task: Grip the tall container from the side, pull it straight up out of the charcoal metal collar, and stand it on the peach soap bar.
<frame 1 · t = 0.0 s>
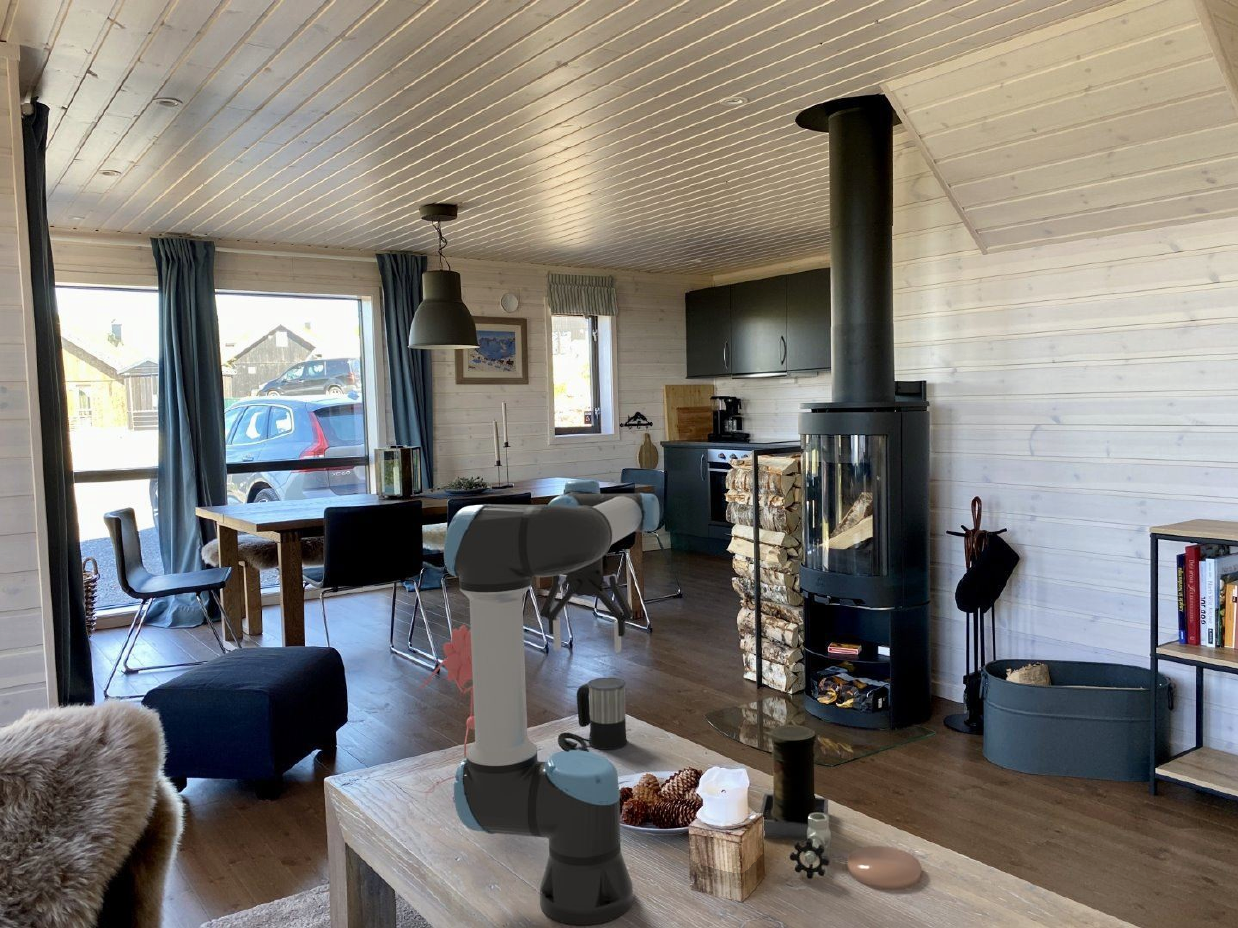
hand: (587, 650, 202), 28 cm above the table, tool pointing down, fingers open, 13 cm apart
collar: (794, 824, 177), on the table
milk frother: (593, 747, 222), on the table
valve: (815, 864, 163), on the table
peach soap bar: (883, 871, 159), on the table
container: (794, 825, 177), resting in collar
figurine: (467, 788, 200), on the table
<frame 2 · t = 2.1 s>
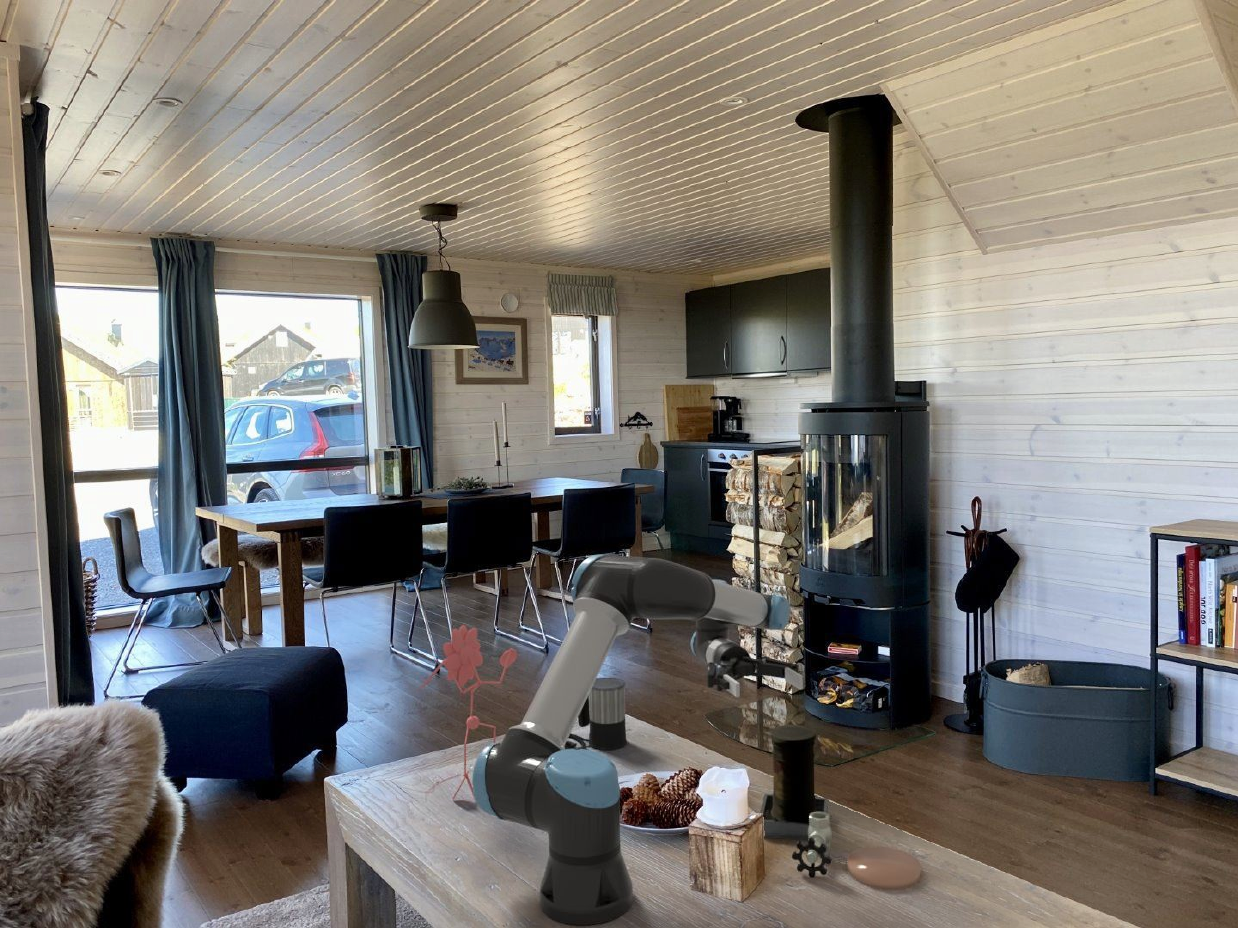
hand: (769, 686, 185), 24 cm above the table, tool horizontal, fingers open, 13 cm apart
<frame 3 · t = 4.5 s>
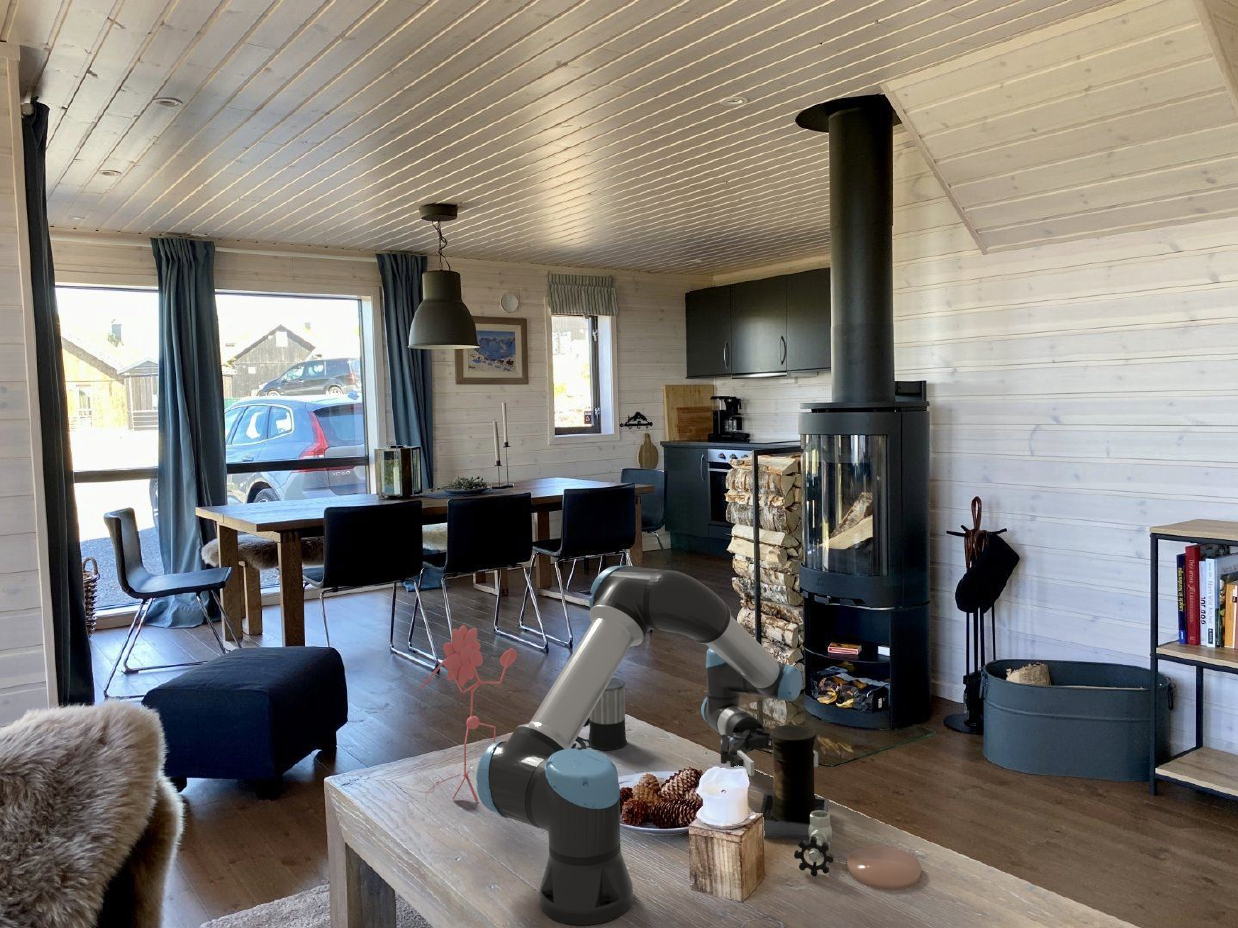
hand: (784, 764, 182), 10 cm above the table, tool horizontal, fingers open, 13 cm apart
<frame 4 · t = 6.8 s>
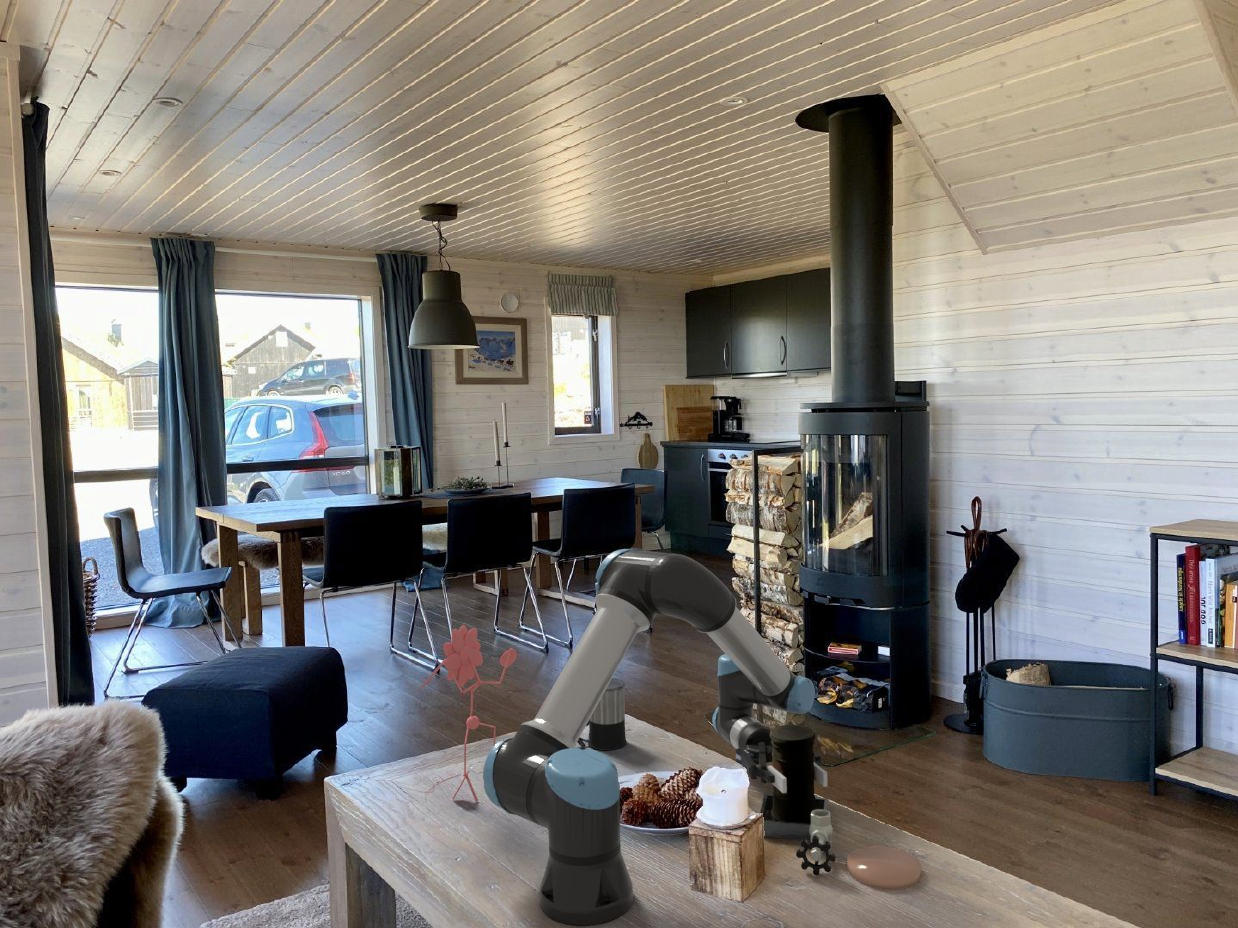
hand: (805, 782, 172), 10 cm above the table, tool horizontal, fingers closed on container, 8 cm apart
container: (794, 825, 177), resting in collar, touching gripper
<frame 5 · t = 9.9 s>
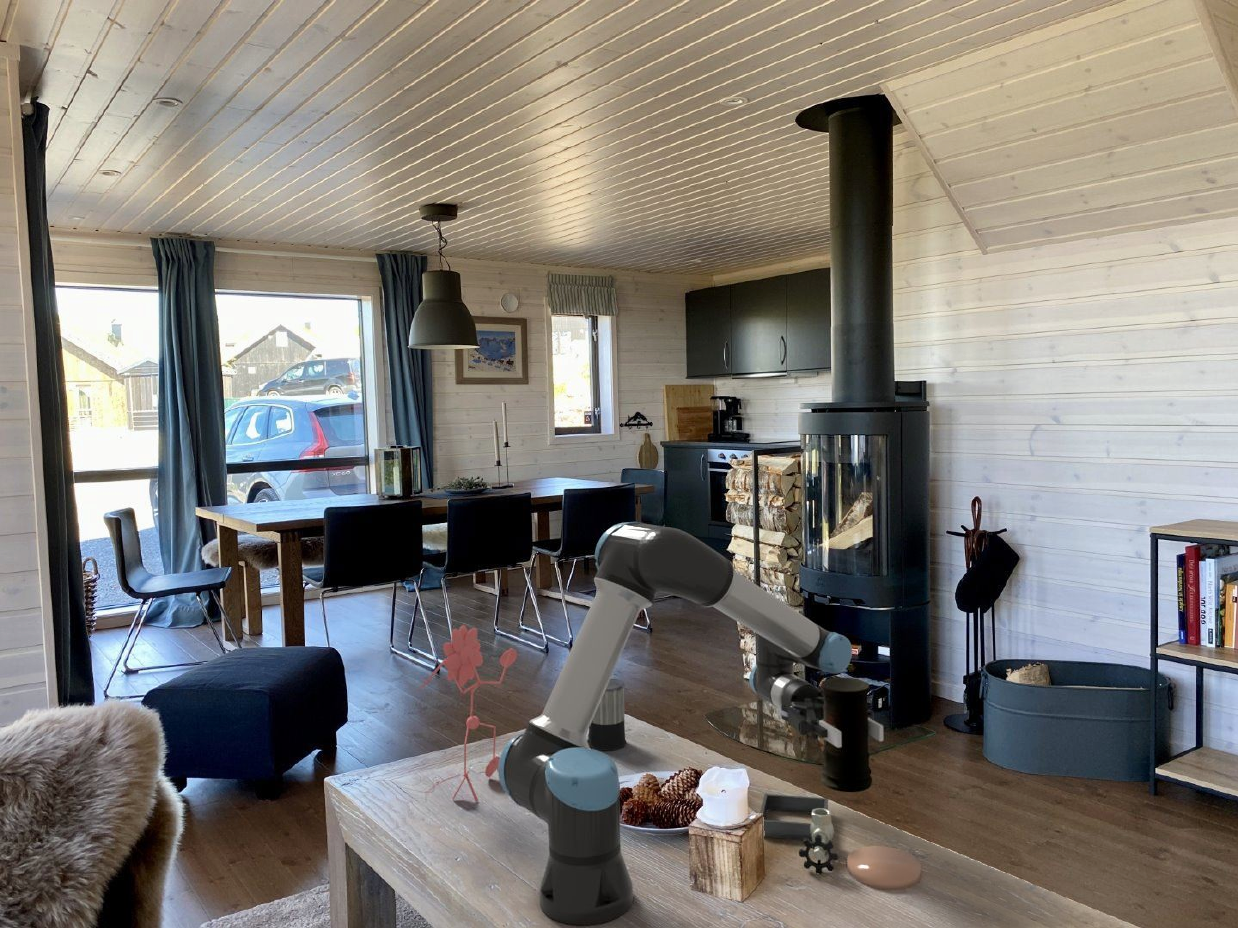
hand: (860, 736, 162), 22 cm above the table, tool horizontal, fingers closed on container, 8 cm apart
valve: (820, 859, 165), on the table, touching collar
container: (846, 783, 168), point 12 cm above the table, touching gripper
everything else where it was.
when the fingers open (13 cm above the table, at t = 13.0 s): container drops 1 cm, resting on peach soap bar.
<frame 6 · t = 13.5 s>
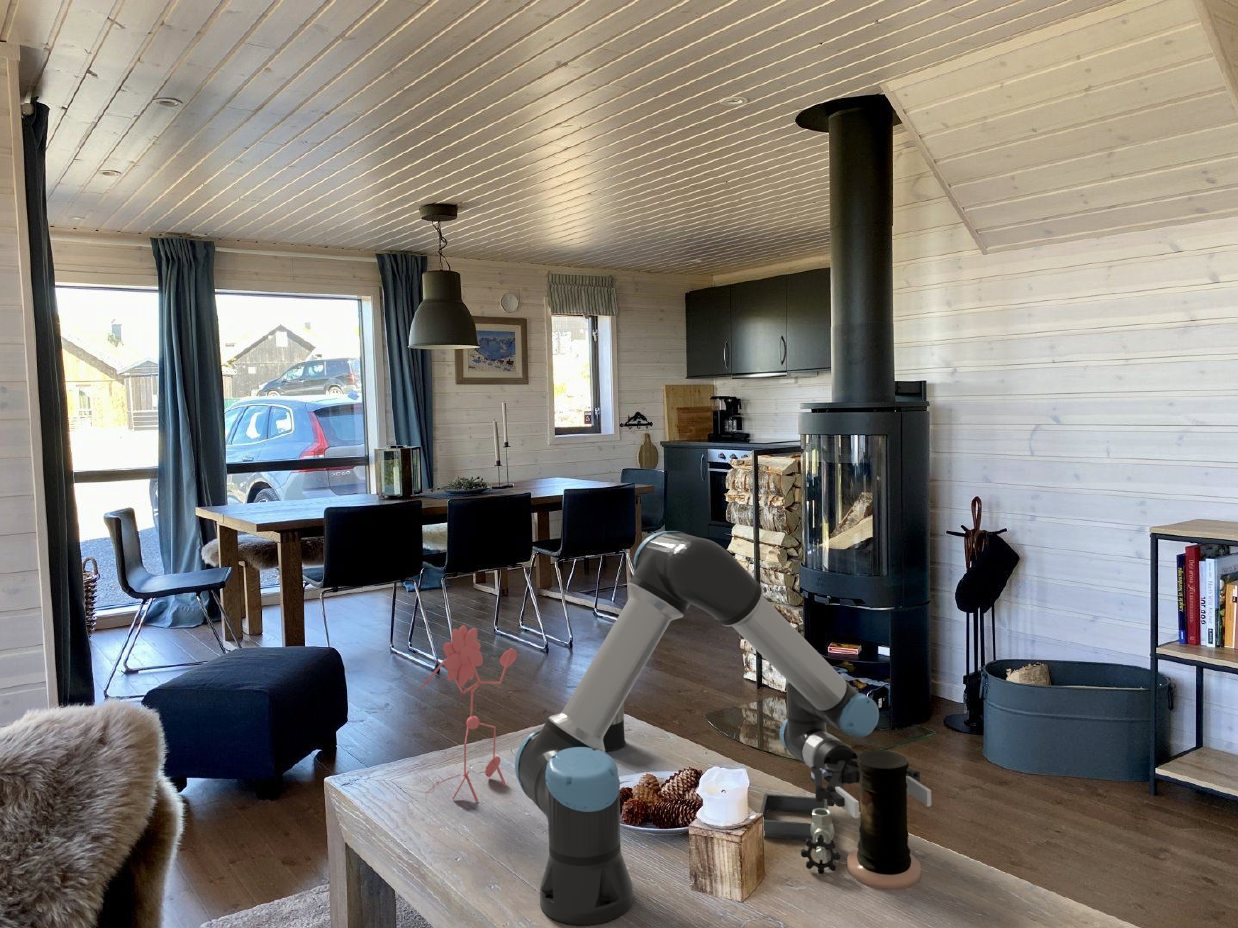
hand: (893, 804, 155), 13 cm above the table, tool horizontal, fingers open, 13 cm apart
valve: (821, 859, 165), on the table
container: (883, 863, 159), point 1 cm above the table, touching peach soap bar
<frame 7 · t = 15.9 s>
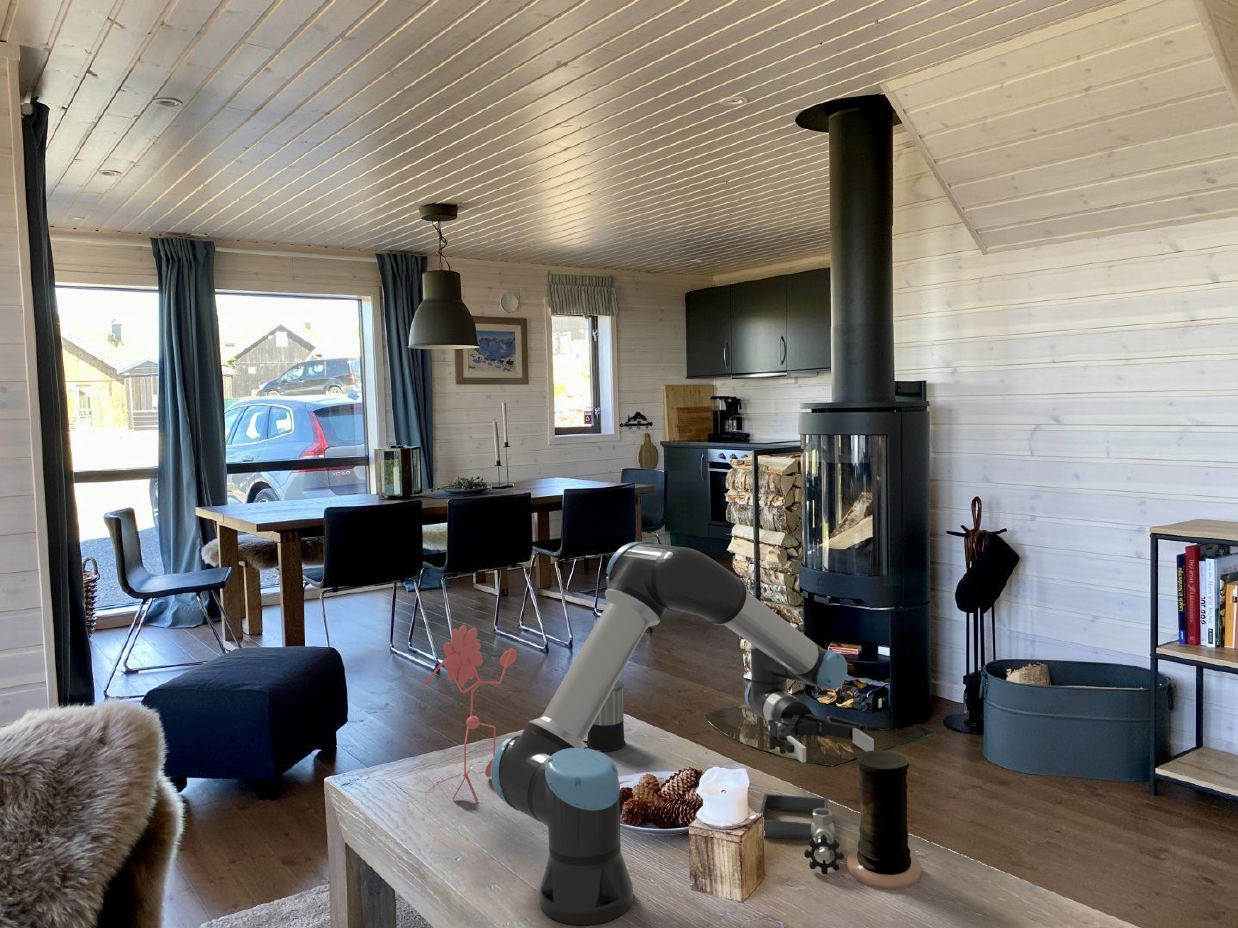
hand: (838, 751, 170), 16 cm above the table, tool horizontal, fingers open, 13 cm apart
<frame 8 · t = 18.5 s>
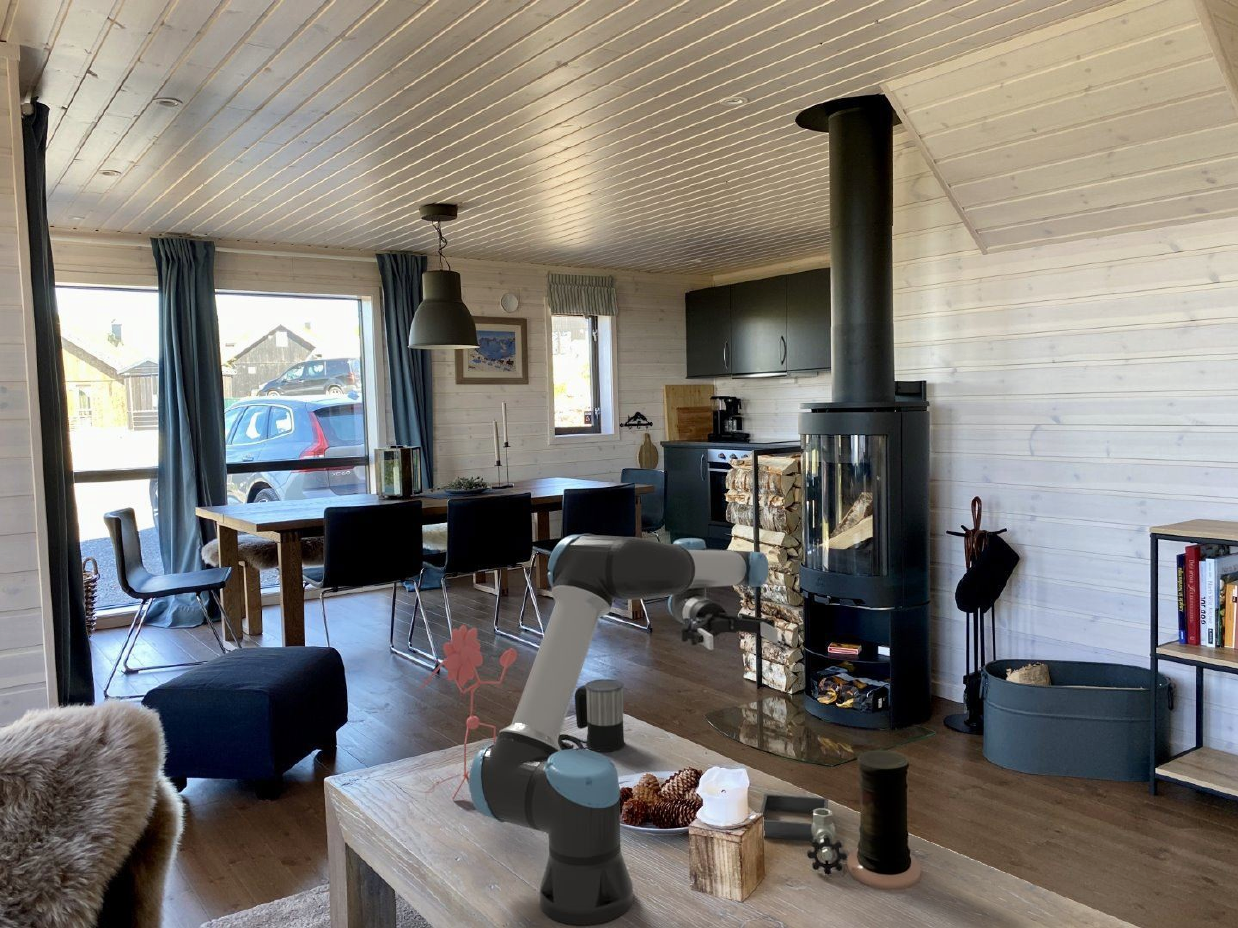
hand: (744, 639, 183), 34 cm above the table, tool horizontal, fingers open, 13 cm apart
valve: (825, 859, 164), on the table, touching collar
at the end: container inside the target area on the peach soap bar (0.1 cm from its centre), point 1.3 cm above the peach soap bar's base; container tilted 0°; the gripper is holding nothing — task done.
